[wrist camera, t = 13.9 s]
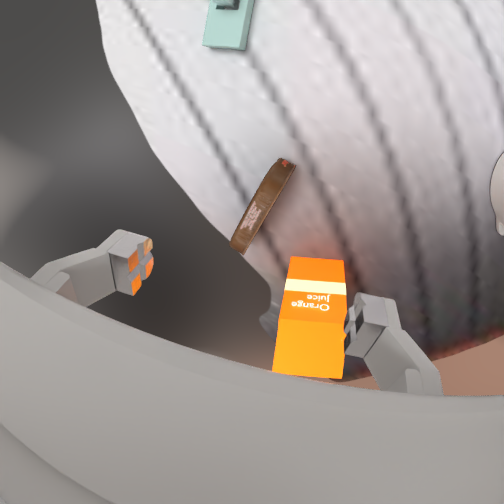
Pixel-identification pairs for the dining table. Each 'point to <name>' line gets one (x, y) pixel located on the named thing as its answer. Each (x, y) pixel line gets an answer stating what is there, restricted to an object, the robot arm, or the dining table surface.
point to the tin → (261, 204)
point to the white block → (228, 4)
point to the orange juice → (312, 319)
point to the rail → (228, 26)
